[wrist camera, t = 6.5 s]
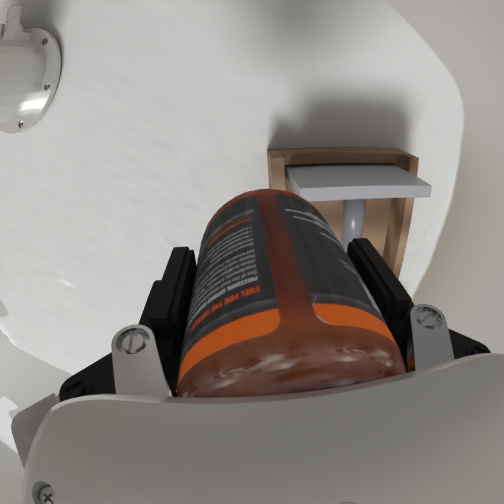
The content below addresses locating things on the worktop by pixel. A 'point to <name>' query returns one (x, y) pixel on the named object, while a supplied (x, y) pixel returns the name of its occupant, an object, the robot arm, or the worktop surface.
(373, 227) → the pusher lane
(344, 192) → the pusher plate
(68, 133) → the worktop surface
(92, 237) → the worktop surface
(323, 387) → the supplement bottle
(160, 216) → the worktop surface
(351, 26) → the worktop surface
